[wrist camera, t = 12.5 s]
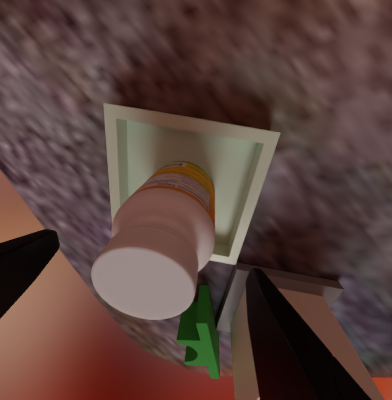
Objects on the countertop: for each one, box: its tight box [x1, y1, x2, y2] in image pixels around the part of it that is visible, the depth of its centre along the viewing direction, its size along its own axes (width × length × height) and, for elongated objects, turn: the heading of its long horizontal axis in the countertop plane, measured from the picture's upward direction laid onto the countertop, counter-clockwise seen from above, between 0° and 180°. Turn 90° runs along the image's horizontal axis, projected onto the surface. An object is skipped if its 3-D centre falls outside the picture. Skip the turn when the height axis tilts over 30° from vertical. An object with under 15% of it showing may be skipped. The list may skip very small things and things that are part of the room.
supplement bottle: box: [91, 160, 215, 320], centre depth 11 cm, size 5×5×10 cm
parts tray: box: [103, 103, 280, 265], centre depth 15 cm, size 12×12×2 cm
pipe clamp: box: [177, 285, 220, 379], centre depth 22 cm, size 11×4×5 cm, turn 10°
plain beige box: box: [216, 262, 384, 400], centre depth 17 cm, size 11×11×9 cm
